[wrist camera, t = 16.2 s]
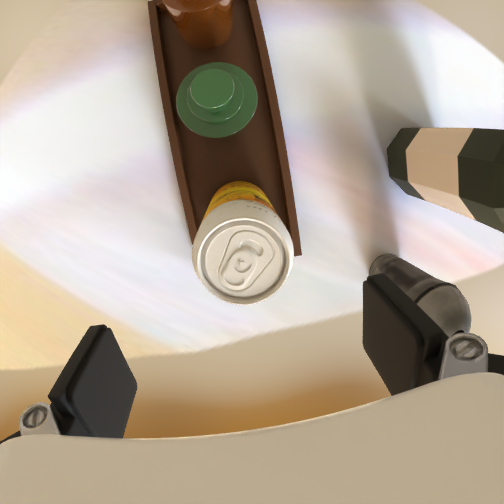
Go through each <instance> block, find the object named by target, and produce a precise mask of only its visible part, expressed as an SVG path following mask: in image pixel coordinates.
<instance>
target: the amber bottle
mask: <svg viewBox="0 0 504 504" xmlns="http://www.w3.org/2000/svg"><path fill="white" fill-rule="evenodd" d="M162 2H163V4H164V6H165V7H166V9H167V11H168V13H169V15H170V17H171V19H172V21H173V23H174V25H175V27H176V28H177V30H178V32H179V34H180V36H181V38H182V40H183V41H184V42H185V43H186V44H187V45H188V46H190V47H192V48H194V49H198V50H209V49H214V48H217V47H219V46H221V45H222V44H224V43H225V42H226V41H227V40H228V39H229V38H230V36H231V34H232V32H233V0H162Z"/></svg>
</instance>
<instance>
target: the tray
mask: <svg viewBox="0 0 504 504" xmlns="http://www.w3.org/2000/svg"><path fill="white" fill-rule="evenodd" d="M148 9H149V17H150V25H151V33H152V40H153V47H154V54H155V61H156V67H157V73H158V80H159V86H160V92H161V97H162V103H163V109H164V114H165V120H166V125H167V130H168V136H169V141H170V146H171V151H172V156H173V161H174V166H175V170H176V175H177V180H178V184H179V189H180V194H181V198H182V202H183V207H184V211H185V216H186V220H187V224H188V228H189V233H190V237H191V241H192V245H193V243H194V240H195V237H196V234H197V232H198V230H199V227H200V225H201V223H202V220H203V218H204V216H205V213H206V211H207V209H208V206H209V204H210V202H211V200H212V198H213V196H214V194H215V193H216V192H217V191H218V190H219V189H220V188H221V187H222V186H224V185H226V184H228V183H231V182H235V181H245V182H249V183H252V184H254V185H256V186H257V187H259V188H260V189H261V190H262V191H263V192H264V194H265V195H266V197H267V198H268V200H269V201H270V203H271V205H272V206H273V208H274V209H275V211H276V213H277V214H278V216H279V217H280V219H281V221H282V222H283V224H284V226H285V227H286V229H287V231H288V232H289V234H290V237H291V239H292V243H293V249H294V256H299V255H302V253H301V245H300V237H299V230H298V223H297V215H296V208H295V202H294V195H293V188H292V182H291V175H290V169H289V163H288V157H287V151H286V145H285V139H284V133H283V127H282V122H281V116H280V111H279V106H278V100H277V95H276V90H275V85H274V80H273V75H272V70H271V65H270V60H269V55H268V51H267V46H266V41H265V37H264V32H263V28H262V24H261V19H260V15H259V11H258V6H257V2H256V0H233V32H232V34H231V36H230V38H229V39H228V40H227V41H226V42H225V43H224V44H222V45H221V46H219V47H217V48H214V49H209V50H198V49H194V48H192V47H190V46H188V45H187V44H186V43H185V42H184V41H183V40H182V38H181V36H180V34H179V32H178V30H177V28H176V27H175V25H174V23H173V21H172V19H171V17H170V15H169V13H168V11H167V9H166V7H165V6H164V4H163V2H162V0H152V1H148ZM212 62H225V63H229V64H233V65H235V66H237V67H239V68H241V69H242V70H244V71H245V72H246V73H247V74H248V75H249V76H250V78H251V79H252V81H253V82H254V85H255V87H256V91H257V107H256V110H255V113H254V115H253V117H252V119H251V120H250V122H249V124H248V126H247V127H246V129H245V130H244V131H243V132H242V133H241V134H240V135H239V136H237V137H235V138H233V139H231V140H226V141H218V140H213V139H210V138H207V137H204V136H202V135H199V134H197V133H195V132H193V131H192V130H190V129H189V128H188V127H187V126H186V125H185V124H184V123H183V121H182V120H181V118H180V116H179V114H178V110H177V105H176V97H177V92H178V89H179V87H180V84H181V83H182V81H183V79H184V78H185V77H186V76H187V75H188V74H189V73H190V72H191V71H193V70H194V69H195V68H197V67H199V66H201V65H204V64H207V63H212Z"/></svg>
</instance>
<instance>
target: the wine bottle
mask: <svg viewBox="0 0 504 504" xmlns="http://www.w3.org/2000/svg"><path fill="white" fill-rule="evenodd" d="M387 153H388V163H389V175H390V178H392V179H393V180H394V181H395V182H396V183H397V184H398V185H399V186H400V187H401V189H402V190H403V191H404V192H405V193H406V194H408V195H411V196H414V197H417V198H420V199H422V200H425V201H428V202H430V203H433V204H436V205H438V206H441V207H444V208H446V209H449V210H451V211H454V212H456V213H459V214H461V215H464V216H466V217H469V218H471V219H474V220H476V221H478V222H481V223H483V224H485V225H487V226H490V227H492V228H494V229H496V230H499V231H501V232H503V233H504V130H499V129H480V128H403V129H401V130H400V131H399V133H398V134H397V136H396V137H395V138H394V140H393V141H392V143H391V144H390V145H389V147H388V148H387Z"/></svg>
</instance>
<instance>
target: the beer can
mask: <svg viewBox="0 0 504 504" xmlns="http://www.w3.org/2000/svg"><path fill="white" fill-rule="evenodd" d="M293 258H294V249H293V243H292V239H291V237H290V234H289V232H288V231H287V229H286V227H285V226H284V224H283V222H282V221H281V219H280V217H279V216H278V214H277V213H276V211H275V209H274V208H273V206H272V205H271V203H270V201H269V200H268V198H267V197H266V195H265V194H264V192H263V191H262V190H261V189H260V188H259V187H257V186H256V185H254V184H252V183H249V182H245V181H235V182H231V183H228V184H226V185H224V186H222V187H221V188H220V189H219V190H218V191H217V192H216V193H215V194H214V196H213V198H212V200H211V202H210V204H209V206H208V209H207V211H206V213H205V216H204V218H203V220H202V223H201V225H200V227H199V230H198V232H197V234H196V237H195V240H194V243H193V248H192V261H193V266H194V269H195V272H196V274H197V276H198V278H199V279H200V281H201V282H202V283H203V285H204V286H205V287H206V288H207V289H208V291H209V292H210V293H212V294H213V295H214V296H216V297H217V298H219V299H221V300H223V301H225V302H228V303H231V304H237V305H249V304H255V303H258V302H261V301H263V300H266V299H267V298H269V297H271V296H272V295H273V294H275V293H276V292H277V291H278V290H279V289H280V287H281V286H282V285H283V283H284V282H285V280H286V278H287V277H288V275H289V273H290V270H291V268H292V264H293Z"/></svg>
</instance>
